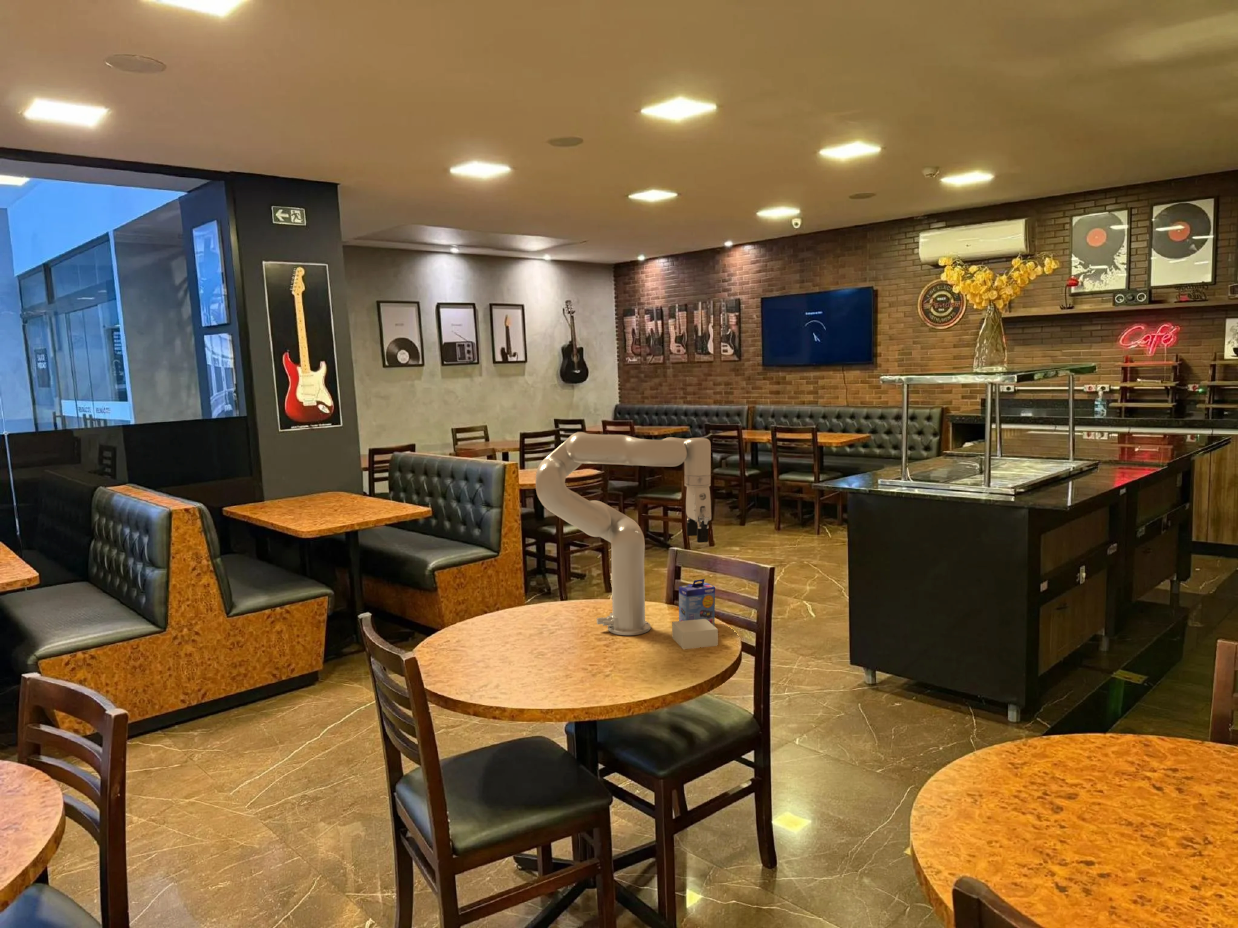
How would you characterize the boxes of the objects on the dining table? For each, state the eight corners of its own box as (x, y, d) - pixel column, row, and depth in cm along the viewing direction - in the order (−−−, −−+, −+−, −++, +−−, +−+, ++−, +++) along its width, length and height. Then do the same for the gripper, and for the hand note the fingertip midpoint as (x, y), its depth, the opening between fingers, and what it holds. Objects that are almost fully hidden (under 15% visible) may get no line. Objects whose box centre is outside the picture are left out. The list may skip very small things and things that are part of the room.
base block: (683, 650, 230) (683, 632, 230) (672, 638, 240) (672, 621, 240) (717, 646, 233) (717, 629, 232) (705, 635, 242) (705, 618, 242)
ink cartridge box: (687, 631, 246) (686, 582, 244) (677, 625, 251) (677, 578, 249) (716, 626, 250) (715, 578, 248) (706, 621, 255) (706, 574, 253)
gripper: (719, 484, 237) (719, 544, 239) (700, 476, 254) (700, 532, 256) (694, 485, 236) (694, 545, 238) (676, 477, 252) (676, 533, 254)
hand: (697, 538), depth 247 cm, fingers open, 9 cm apart
